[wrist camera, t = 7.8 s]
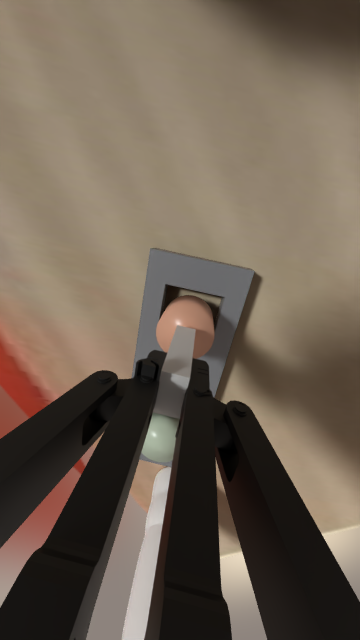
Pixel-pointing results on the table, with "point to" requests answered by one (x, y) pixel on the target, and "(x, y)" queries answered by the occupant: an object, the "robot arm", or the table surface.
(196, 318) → the button terracotta
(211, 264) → the panel
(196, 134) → the table surface
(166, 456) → the button sage
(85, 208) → the table surface
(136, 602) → the water bottle
